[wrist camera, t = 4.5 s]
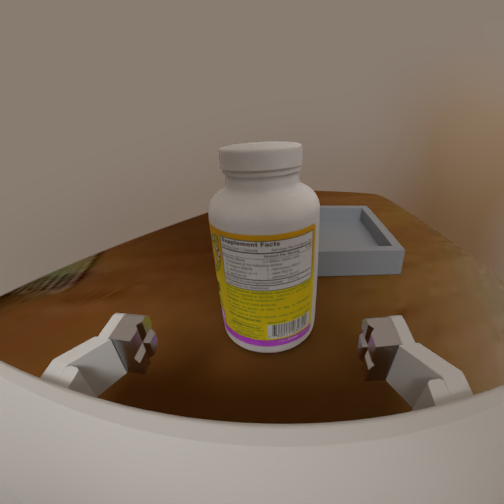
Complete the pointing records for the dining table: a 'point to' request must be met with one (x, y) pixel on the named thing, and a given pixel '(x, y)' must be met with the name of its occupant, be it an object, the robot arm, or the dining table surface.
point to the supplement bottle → (265, 246)
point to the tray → (356, 243)
